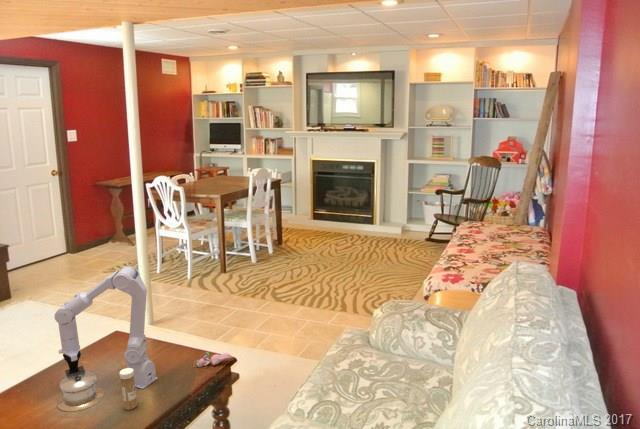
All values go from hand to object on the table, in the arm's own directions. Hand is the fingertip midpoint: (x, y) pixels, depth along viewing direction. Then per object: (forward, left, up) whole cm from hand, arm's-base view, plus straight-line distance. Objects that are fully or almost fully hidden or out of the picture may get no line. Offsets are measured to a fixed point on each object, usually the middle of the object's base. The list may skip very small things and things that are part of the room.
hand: (74, 371), depth 186 cm
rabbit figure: (-39, -32, -6) cm, 50 cm away
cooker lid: (-7, +5, 0) cm, 9 cm away
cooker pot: (-9, +6, -6) cm, 12 cm away
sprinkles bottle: (-29, +3, -6) cm, 30 cm away
